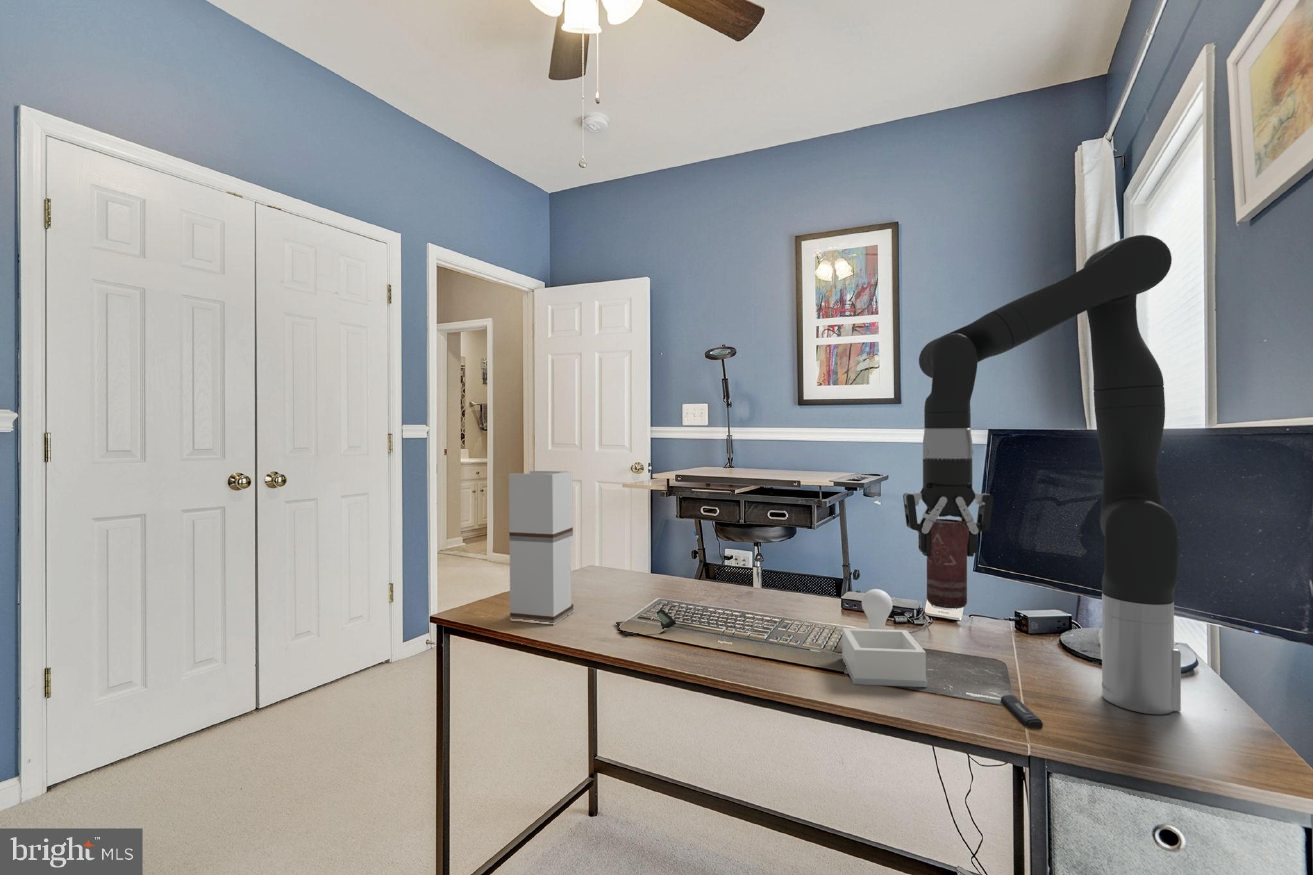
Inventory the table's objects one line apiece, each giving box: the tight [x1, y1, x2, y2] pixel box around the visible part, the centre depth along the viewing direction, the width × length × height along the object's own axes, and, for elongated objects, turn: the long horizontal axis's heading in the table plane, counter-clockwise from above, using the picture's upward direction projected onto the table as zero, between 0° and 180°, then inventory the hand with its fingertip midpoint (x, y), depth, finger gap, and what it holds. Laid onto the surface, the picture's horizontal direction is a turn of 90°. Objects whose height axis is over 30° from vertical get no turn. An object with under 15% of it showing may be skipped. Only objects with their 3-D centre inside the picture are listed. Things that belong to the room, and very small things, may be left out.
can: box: [926, 518, 969, 609], centre depth 104 cm, size 6×6×14 cm
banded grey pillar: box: [508, 470, 574, 623], centre depth 150 cm, size 11×11×35 cm
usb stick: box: [1000, 694, 1044, 729], centre depth 97 cm, size 10×3×2 cm, turn 173°
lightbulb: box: [861, 588, 893, 630], centre depth 131 cm, size 6×6×11 cm
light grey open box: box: [841, 627, 928, 688], centre depth 114 cm, size 12×12×6 cm
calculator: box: [615, 608, 677, 637], centre depth 141 cm, size 9×12×3 cm
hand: (947, 555), depth 103 cm, fingers closed on can, 6 cm apart
